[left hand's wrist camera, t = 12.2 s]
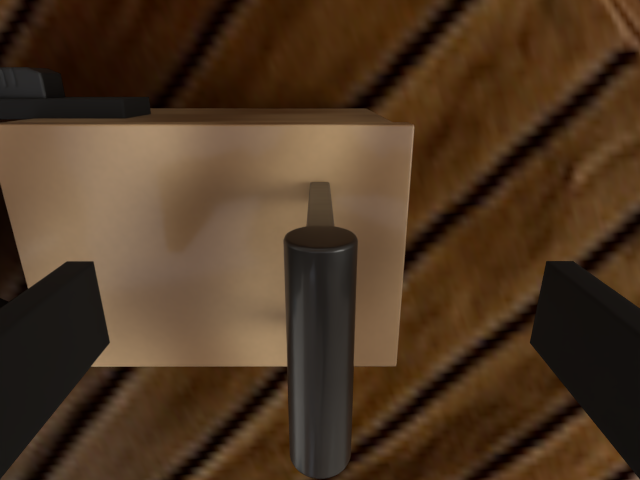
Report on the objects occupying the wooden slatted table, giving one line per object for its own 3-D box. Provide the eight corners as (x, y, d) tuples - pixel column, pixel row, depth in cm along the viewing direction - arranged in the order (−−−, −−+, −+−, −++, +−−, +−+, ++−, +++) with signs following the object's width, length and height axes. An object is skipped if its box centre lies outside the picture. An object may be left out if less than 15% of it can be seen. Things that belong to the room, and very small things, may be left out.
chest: (367, 108, 24) (394, 122, 15) (361, 268, 27) (380, 353, 19) (116, 108, 24) (3, 122, 15) (141, 269, 27) (61, 353, 19)
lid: (409, 122, 15) (495, 158, 8) (392, 353, 19) (441, 530, 11) (2, 122, 15) (-297, 158, 8) (60, 353, 18) (-110, 531, 11)
